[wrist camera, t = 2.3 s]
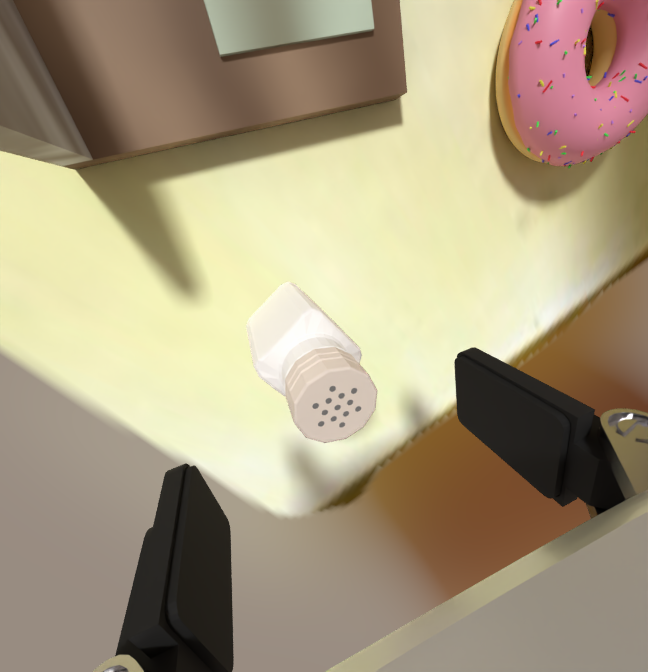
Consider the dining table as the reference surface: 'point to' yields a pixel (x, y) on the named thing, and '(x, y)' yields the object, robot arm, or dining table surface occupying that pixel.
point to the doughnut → (572, 77)
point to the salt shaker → (311, 365)
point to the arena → (184, 71)
